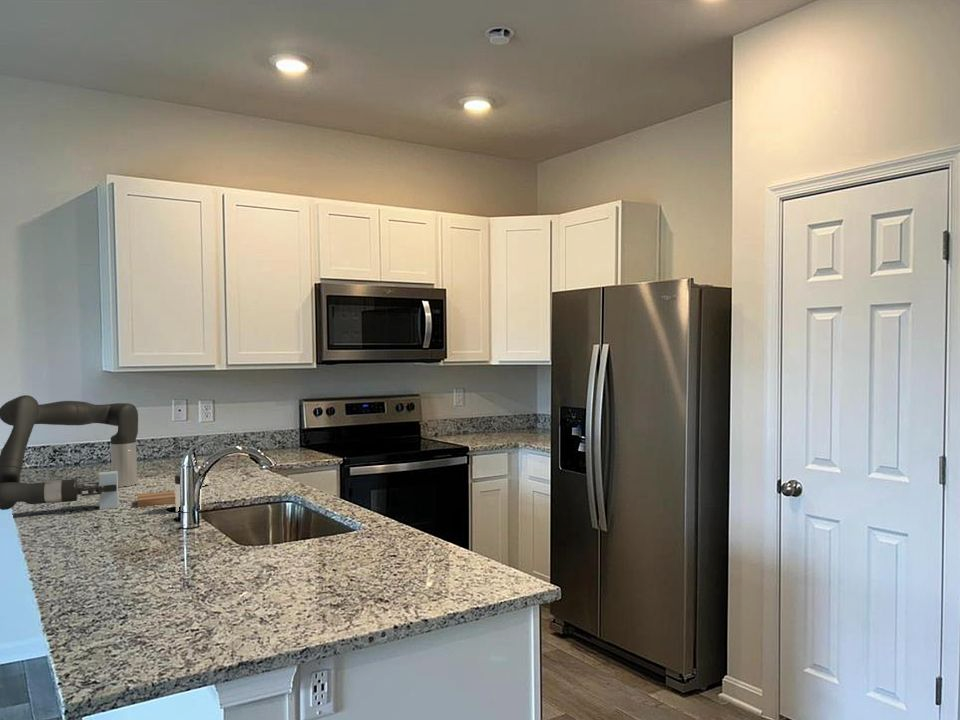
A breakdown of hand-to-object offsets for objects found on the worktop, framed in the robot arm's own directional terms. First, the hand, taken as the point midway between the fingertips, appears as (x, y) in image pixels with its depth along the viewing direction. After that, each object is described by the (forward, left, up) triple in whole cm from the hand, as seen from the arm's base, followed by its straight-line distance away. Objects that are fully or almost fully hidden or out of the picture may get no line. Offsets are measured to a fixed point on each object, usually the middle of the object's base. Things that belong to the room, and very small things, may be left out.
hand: (116, 486), depth 250 cm
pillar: (0, -3, -7) cm, 7 cm away
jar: (+19, +22, -7) cm, 30 cm away
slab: (0, +12, -8) cm, 15 cm away
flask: (-26, +28, -7) cm, 39 cm away
